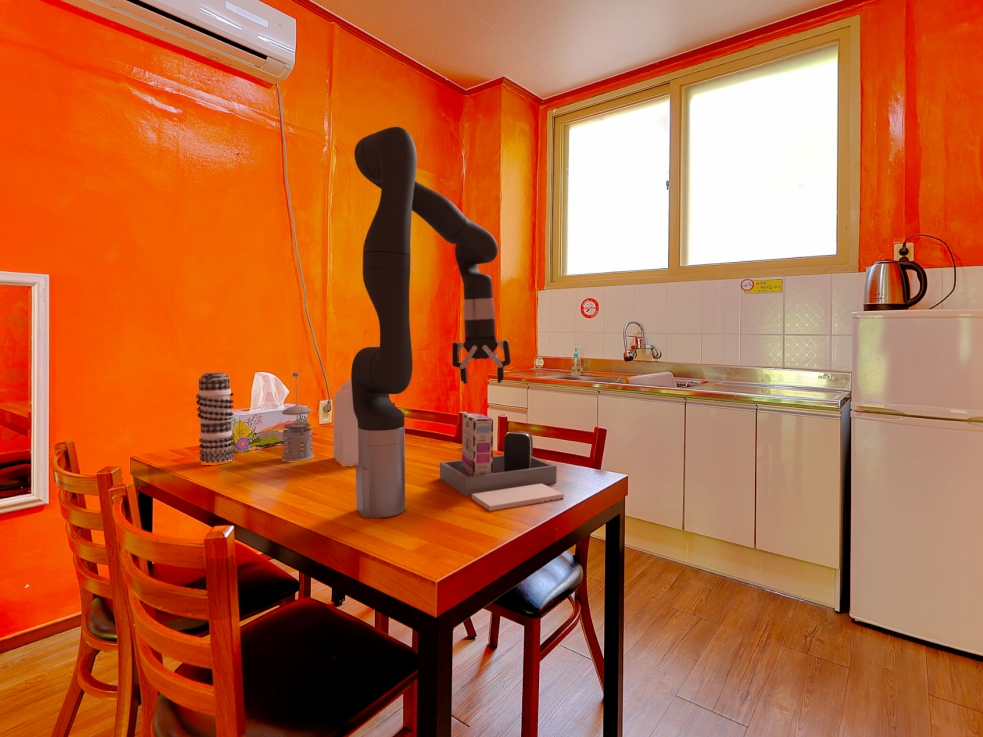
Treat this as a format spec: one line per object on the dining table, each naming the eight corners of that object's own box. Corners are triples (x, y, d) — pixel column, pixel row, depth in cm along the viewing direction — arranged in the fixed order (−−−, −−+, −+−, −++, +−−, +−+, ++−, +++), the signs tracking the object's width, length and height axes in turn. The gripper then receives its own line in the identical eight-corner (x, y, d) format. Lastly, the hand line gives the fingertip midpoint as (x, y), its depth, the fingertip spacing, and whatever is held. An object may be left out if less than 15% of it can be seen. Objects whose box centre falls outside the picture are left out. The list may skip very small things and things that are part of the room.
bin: (465, 496, 114) (465, 478, 114) (439, 478, 129) (439, 462, 128) (556, 482, 125) (556, 466, 125) (523, 467, 139) (523, 452, 139)
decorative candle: (208, 458, 149) (205, 372, 147) (241, 458, 149) (238, 371, 148) (191, 466, 140) (188, 374, 138) (226, 466, 140) (223, 374, 139)
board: (490, 510, 105) (490, 506, 105) (471, 498, 113) (471, 493, 113) (563, 498, 113) (563, 493, 113) (541, 487, 121) (541, 483, 121)
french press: (308, 452, 156) (306, 370, 154) (323, 460, 147) (321, 372, 146) (275, 457, 150) (272, 371, 148) (288, 465, 141) (286, 374, 139)
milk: (384, 462, 145) (383, 369, 143) (343, 467, 139) (341, 371, 137) (372, 453, 155) (371, 367, 154) (333, 458, 150) (331, 368, 148)
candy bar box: (494, 489, 120) (494, 419, 119) (473, 490, 118) (473, 420, 117) (480, 476, 130) (480, 412, 129) (461, 478, 129) (461, 412, 128)
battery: (534, 476, 130) (534, 432, 129) (529, 480, 126) (529, 434, 126) (508, 474, 133) (508, 430, 132) (502, 477, 129) (503, 432, 128)
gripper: (447, 319, 124) (451, 386, 125) (507, 316, 122) (509, 384, 124) (453, 318, 131) (457, 381, 133) (509, 316, 129) (512, 380, 131)
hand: (482, 383), depth 128 cm, fingers open, 8 cm apart
